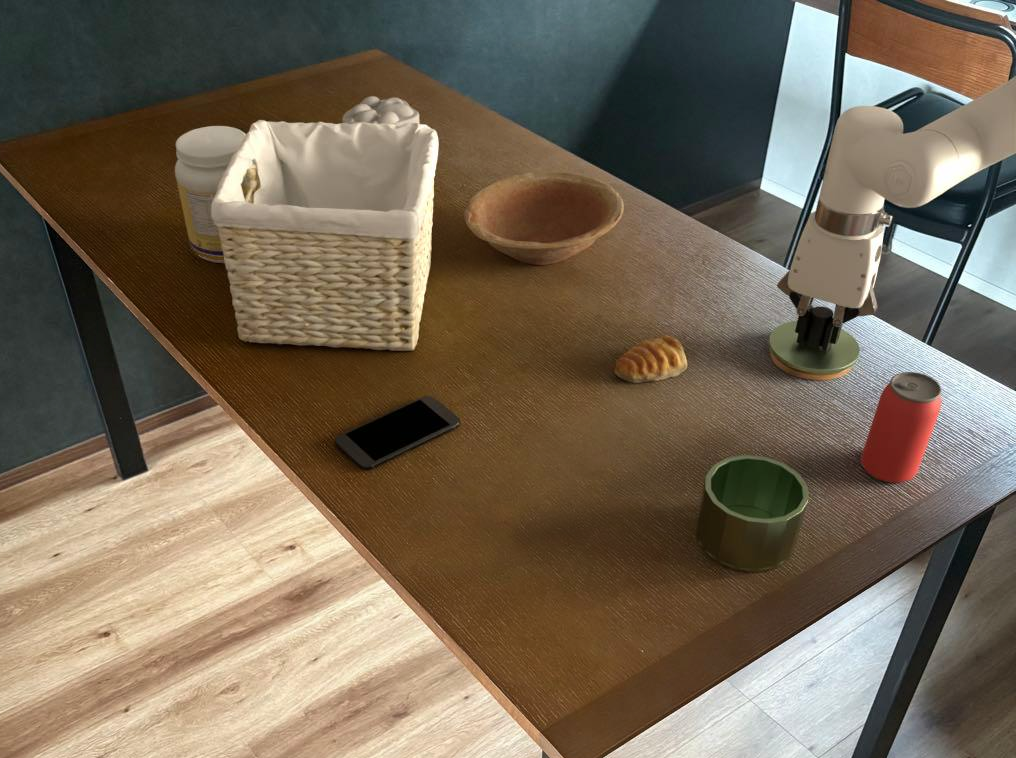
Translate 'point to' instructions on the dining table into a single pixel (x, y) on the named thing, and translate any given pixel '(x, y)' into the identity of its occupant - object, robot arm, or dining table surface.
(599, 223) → the bowl
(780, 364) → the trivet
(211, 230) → the supplement tub
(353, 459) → the smartphone
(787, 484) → the pot
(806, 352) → the pot lid
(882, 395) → the beer can
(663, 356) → the pastry
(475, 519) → the dining table surface
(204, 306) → the dining table surface
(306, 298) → the basket
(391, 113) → the lumpy-topped squat cylinder
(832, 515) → the dining table surface
